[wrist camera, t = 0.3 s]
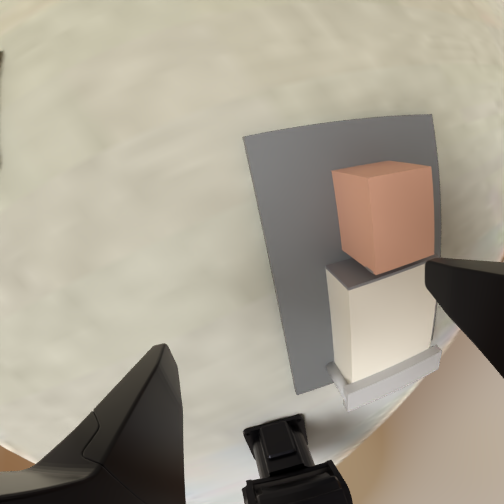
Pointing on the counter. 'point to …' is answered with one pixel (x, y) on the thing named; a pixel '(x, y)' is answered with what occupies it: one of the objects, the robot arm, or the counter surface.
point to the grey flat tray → (343, 259)
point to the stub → (385, 213)
